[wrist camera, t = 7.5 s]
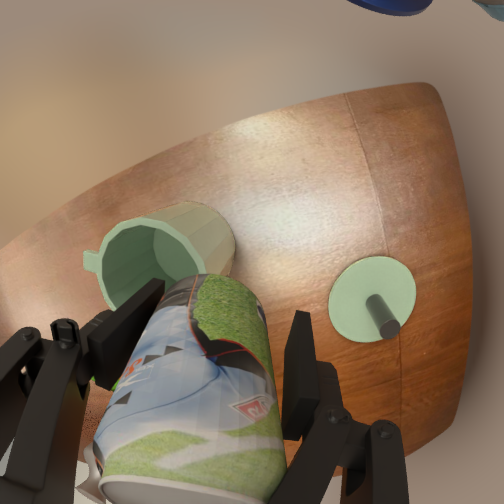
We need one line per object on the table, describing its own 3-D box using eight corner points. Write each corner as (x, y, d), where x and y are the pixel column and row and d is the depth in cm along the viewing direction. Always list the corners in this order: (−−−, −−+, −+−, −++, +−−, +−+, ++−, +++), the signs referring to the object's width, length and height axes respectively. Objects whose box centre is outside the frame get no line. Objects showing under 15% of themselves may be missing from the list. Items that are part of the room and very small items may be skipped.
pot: (140, 192, 40) (80, 204, 26) (262, 215, 39) (248, 239, 25) (134, 273, 44) (83, 311, 30) (244, 301, 43) (225, 358, 29)
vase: (153, 434, 58) (118, 507, 34) (146, 453, 62) (116, 515, 38) (105, 408, 57) (61, 473, 34) (103, 430, 62) (67, 487, 38)
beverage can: (165, 260, 15) (2, 399, 4) (297, 274, 15) (309, 504, 3) (171, 350, 17) (81, 500, 6) (283, 367, 16) (269, 553, 5)
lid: (343, 244, 39) (358, 265, 30) (425, 265, 38) (453, 287, 29) (315, 331, 43) (320, 366, 34) (393, 343, 42) (410, 376, 33)
